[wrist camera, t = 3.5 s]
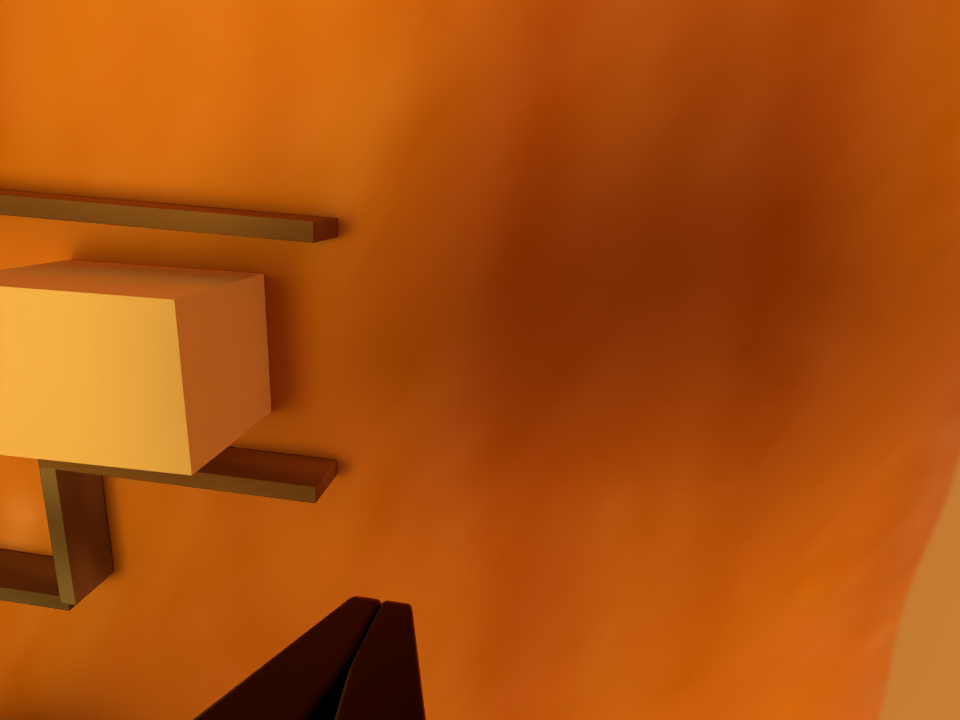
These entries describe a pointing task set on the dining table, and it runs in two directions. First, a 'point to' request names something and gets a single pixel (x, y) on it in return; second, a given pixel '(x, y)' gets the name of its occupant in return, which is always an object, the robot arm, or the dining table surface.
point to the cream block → (130, 363)
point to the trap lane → (79, 486)
